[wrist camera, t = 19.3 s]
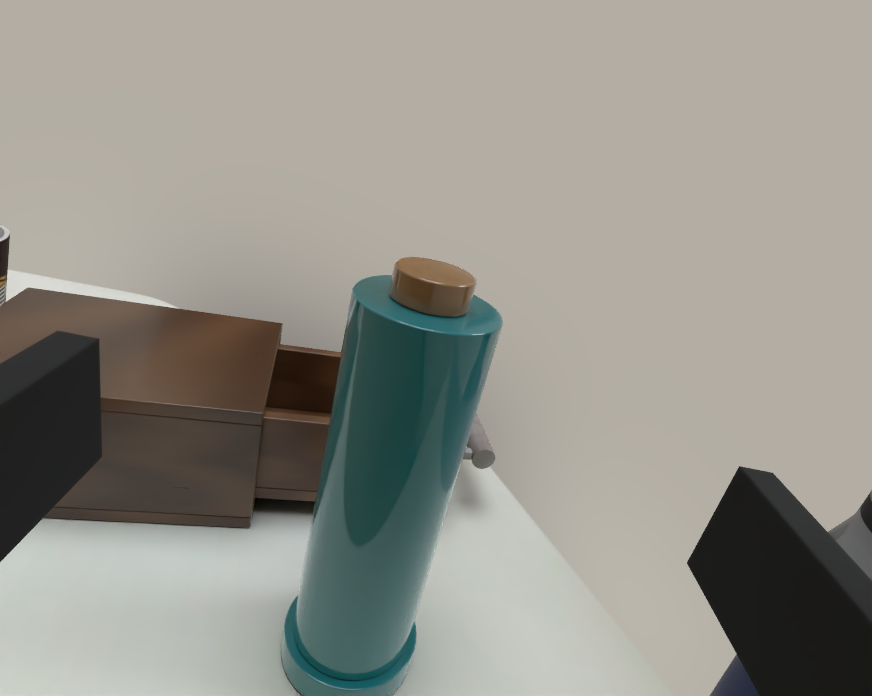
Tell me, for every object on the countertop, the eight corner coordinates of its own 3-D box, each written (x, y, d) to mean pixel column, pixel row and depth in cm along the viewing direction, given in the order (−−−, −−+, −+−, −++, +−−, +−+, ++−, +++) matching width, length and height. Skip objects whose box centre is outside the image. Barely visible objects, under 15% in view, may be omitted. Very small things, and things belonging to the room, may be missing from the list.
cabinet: (271, 415, 44) (282, 323, 41) (249, 528, 33) (263, 413, 29) (35, 391, 40) (27, 287, 36) (-82, 511, 28) (-108, 376, 25)
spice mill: (402, 594, 31) (496, 260, 23) (418, 710, 25) (549, 317, 17) (285, 591, 29) (344, 232, 21) (274, 714, 23) (349, 284, 16)
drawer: (455, 428, 47) (474, 363, 44) (489, 523, 36) (515, 446, 34) (213, 403, 42) (219, 329, 39) (175, 505, 32) (180, 413, 29)
